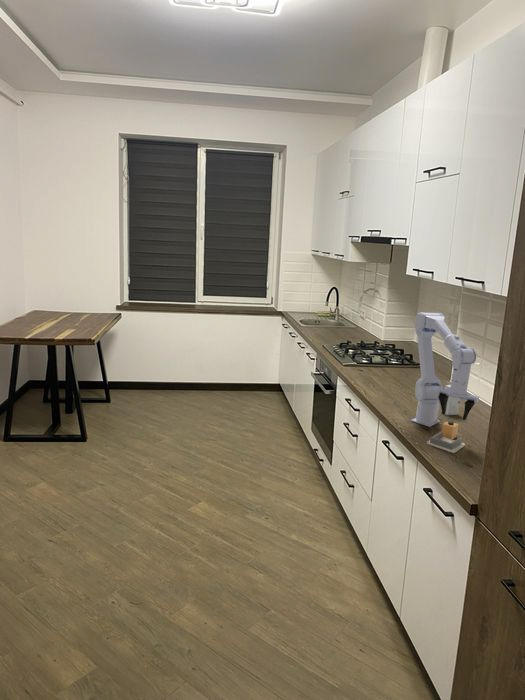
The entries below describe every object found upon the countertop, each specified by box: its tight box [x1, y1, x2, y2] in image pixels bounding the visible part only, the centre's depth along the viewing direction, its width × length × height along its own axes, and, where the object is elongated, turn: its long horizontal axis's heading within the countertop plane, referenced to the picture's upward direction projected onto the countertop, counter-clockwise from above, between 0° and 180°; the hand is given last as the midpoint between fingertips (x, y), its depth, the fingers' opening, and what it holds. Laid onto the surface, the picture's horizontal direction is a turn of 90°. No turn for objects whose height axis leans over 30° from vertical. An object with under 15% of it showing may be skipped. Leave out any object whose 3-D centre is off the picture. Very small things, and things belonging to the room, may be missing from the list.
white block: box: [440, 384, 461, 416], centre depth 218 cm, size 6×4×12 cm
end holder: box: [426, 431, 466, 454], centre depth 183 cm, size 10×10×3 cm
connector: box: [441, 420, 460, 440], centre depth 192 cm, size 7×4×6 cm, turn 138°
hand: (453, 416), depth 188 cm, fingers open, 7 cm apart
